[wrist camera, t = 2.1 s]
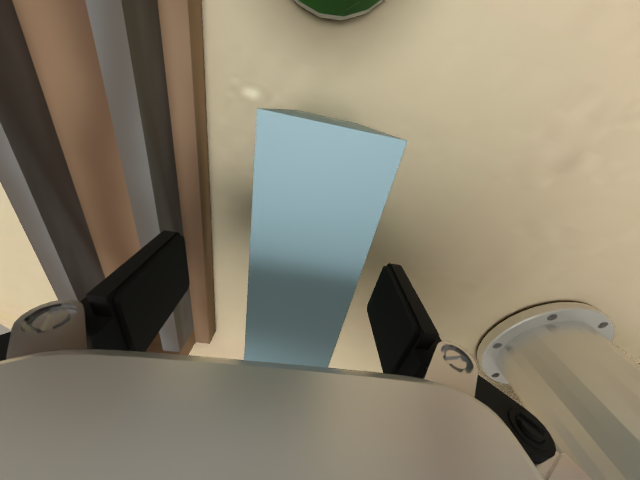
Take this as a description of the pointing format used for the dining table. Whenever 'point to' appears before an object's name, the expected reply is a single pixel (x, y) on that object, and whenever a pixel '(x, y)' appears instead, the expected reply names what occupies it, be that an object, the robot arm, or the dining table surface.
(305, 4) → the soda can
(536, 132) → the dining table surface
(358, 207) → the door panel
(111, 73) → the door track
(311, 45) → the dining table surface
